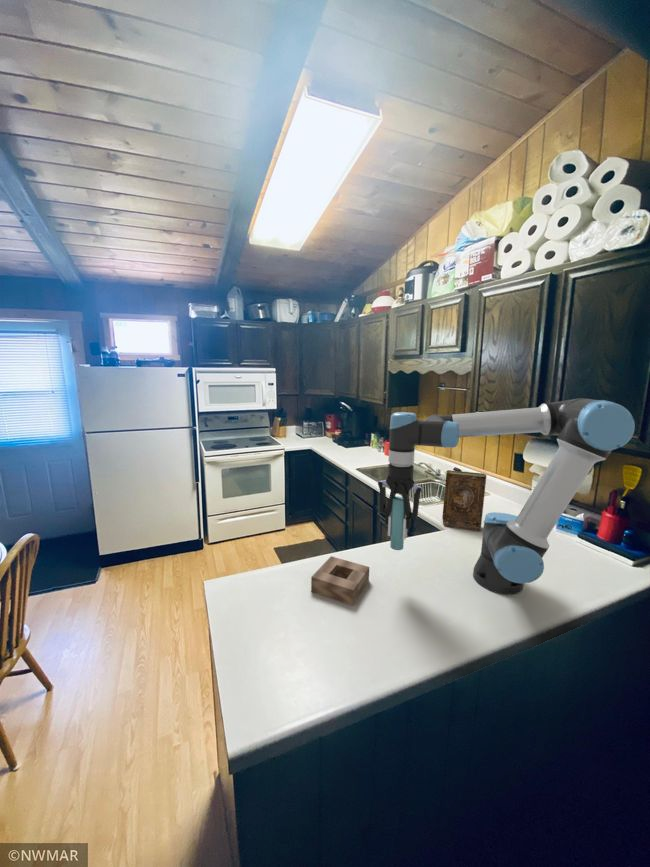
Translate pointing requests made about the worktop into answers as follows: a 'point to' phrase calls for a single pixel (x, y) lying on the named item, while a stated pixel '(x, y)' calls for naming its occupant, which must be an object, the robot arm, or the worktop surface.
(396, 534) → the peg
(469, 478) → the book
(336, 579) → the socket block
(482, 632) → the worktop surface
